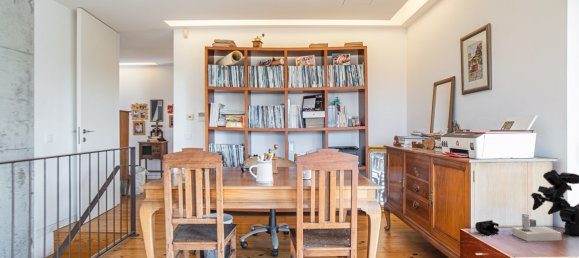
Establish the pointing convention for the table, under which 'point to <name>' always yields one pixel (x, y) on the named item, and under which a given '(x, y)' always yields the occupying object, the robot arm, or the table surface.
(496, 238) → the table surface
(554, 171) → the robot arm
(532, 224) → the short pin
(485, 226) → the end cap
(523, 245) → the table surface
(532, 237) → the hole plate
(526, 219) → the long pin
